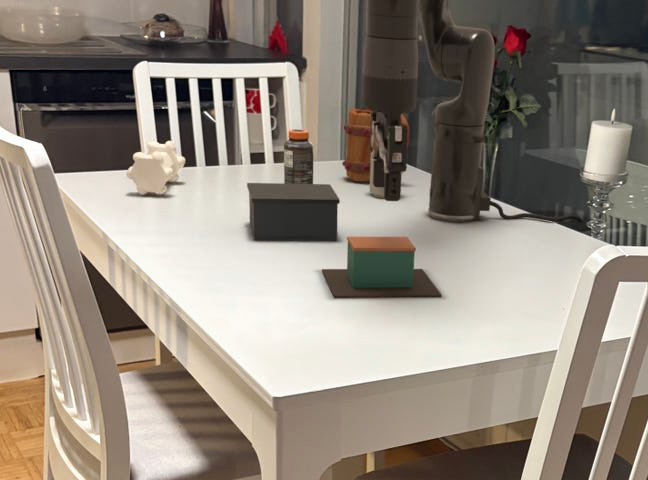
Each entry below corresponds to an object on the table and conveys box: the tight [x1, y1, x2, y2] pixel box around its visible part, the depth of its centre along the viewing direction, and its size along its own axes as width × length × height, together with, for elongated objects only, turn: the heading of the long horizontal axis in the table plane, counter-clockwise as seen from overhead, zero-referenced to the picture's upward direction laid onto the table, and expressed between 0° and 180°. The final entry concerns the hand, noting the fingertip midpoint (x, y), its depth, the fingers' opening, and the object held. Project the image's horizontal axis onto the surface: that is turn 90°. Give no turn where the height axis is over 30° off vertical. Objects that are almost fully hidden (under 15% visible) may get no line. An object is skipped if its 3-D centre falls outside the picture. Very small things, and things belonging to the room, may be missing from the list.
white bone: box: [126, 140, 186, 196], centre depth 190 cm, size 15×9×8 cm, turn 1°
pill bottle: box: [283, 128, 314, 184], centre depth 198 cm, size 6×6×11 cm
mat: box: [321, 268, 443, 299], centre depth 147 cm, size 16×13×1 cm
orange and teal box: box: [346, 235, 417, 288], centre depth 145 cm, size 9×6×6 cm
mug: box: [342, 108, 411, 183], centre depth 207 cm, size 15×8×15 cm, turn 72°
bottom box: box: [246, 182, 341, 241], centre depth 168 cm, size 15×12×7 cm
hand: (386, 193), depth 140 cm, fingers open, 8 cm apart
